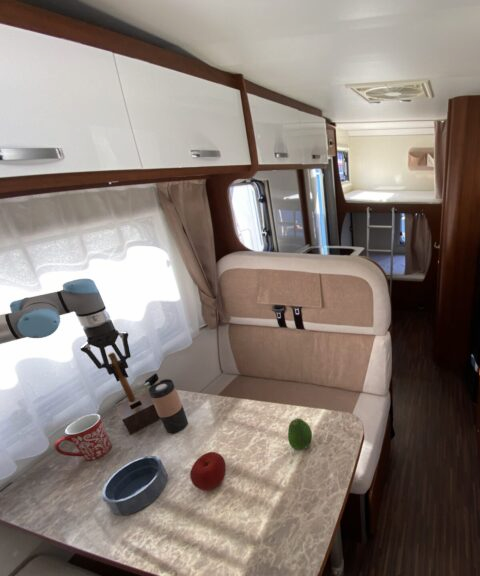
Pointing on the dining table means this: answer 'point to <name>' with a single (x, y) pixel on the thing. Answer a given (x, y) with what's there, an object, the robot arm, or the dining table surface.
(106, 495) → the bowl
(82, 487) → the dining table surface
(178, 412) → the travel mug
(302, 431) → the fruit
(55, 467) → the dining table surface
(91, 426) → the mug
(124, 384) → the stick
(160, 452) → the dining table surface
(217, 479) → the apple
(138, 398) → the holder
